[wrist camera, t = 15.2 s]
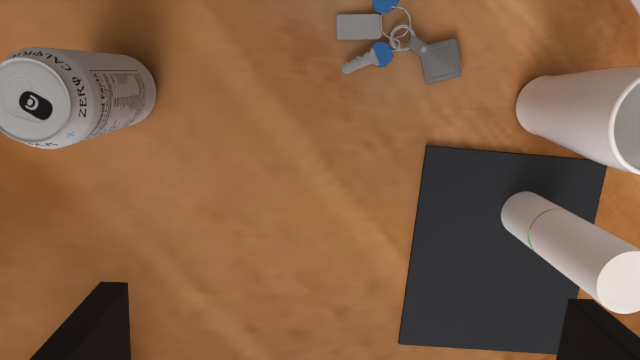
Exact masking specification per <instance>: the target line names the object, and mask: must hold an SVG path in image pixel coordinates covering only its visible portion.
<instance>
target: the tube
mask: <svg viewBox="0 0 640 360" xmlns="http://www.w3.org/2000/svg"><path fill="white" fill-rule="evenodd" d="M501 220H502V223H503V225H504V227H505V228H506V229H507V230H508V231H509V232H510V233H512V234H513V235H514V236H515V237H517V238H518V239H519V240H520V241H522V242H523V243H524V244H526V245H527V246H528V247H529V248H531V249H532V250H533V251H534V252H536V253H537V254H538V255H540V256H541V257H542V258H543V259H545V260H546V261H547V262H548V263H550V264H551V265H552V266H554V267H555V268H556V269H557V270H559V271H560V272H561V273H562V274H564V275H565V276H566V277H568V278H569V279H570V280H571V281H573V282H574V283H575V284H577V285H578V286H579V287H580V288H582V289H583V290H584V291H585V292H587V293H588V294H589V295H591V296H592V297H593V298H594V299H596V300H597V301H598V302H599V303H601V304H602V305H603V306H605V307H606V308H607V309H609V310H611V311H613V312H616V313H621V314H628V313H633V312H637V311H639V310H640V249H638V248H637V247H635V246H633V245H631V244H629V243H627V242H625V241H623V240H622V239H620V238H618V237H616V236H614V235H612V234H610V233H608V232H606V231H605V230H603V229H601V228H599V227H597V226H595V225H593V224H591V223H590V222H588V221H586V220H584V219H582V218H580V217H578V216H576V215H575V214H573V213H571V212H569V211H567V210H565V209H563V208H561V207H559V206H558V205H556V204H554V203H552V202H550V201H548V200H546V199H544V198H543V197H541V196H539V195H537V194H535V193H532V192H520V193H517V194H514V195H513V196H511V197H510V198H509V199H508V200H507V201H506V202H505V204H504V205H503V208H502V211H501Z"/></svg>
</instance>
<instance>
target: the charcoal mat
mask: <svg viewBox="0 0 640 360" xmlns="http://www.w3.org/2000/svg"><path fill="white" fill-rule="evenodd" d="M606 169H607V166H605V165H602V164H600V163H597V162H595V161H592V160H589V159H577V158H566V157H554V156H543V155H531V154H520V153H508V152H497V151H485V150H474V149H462V148H451V147H439V146H428V145H426V150H425V157H424V164H423V171H422V178H421V185H420V192H419V199H418V206H417V213H416V220H415V227H414V234H413V241H412V248H411V255H410V262H409V269H408V276H407V284H406V291H405V298H404V305H403V312H402V319H401V326H400V333H399V340H398V343H399V344H403V345H418V346H434V347H450V348H465V349H481V350H496V351H512V352H528V353H543V354H557V353H558V348H559V343H560V338H561V333H562V328H563V323H564V318H565V313H566V308H567V303H568V299H577V296H578V292H579V286H578V285H577V284H575V283H574V282H573V281H571V280H570V279H569V278H568V277H566V276H565V275H564V274H562V273H561V272H560V271H559V270H557V269H556V268H555V267H554V266H552V265H551V264H550V263H548V262H547V261H546V260H545V259H543V258H542V257H541V256H540V255H538V254H537V253H536V252H534V251H533V250H532V249H531V248H529V247H528V246H527V245H526V244H524V243H523V242H522V241H520V240H519V239H518V238H517V237H515V236H514V235H513V234H512V233H510V232H509V231H508V230H507V229H506V228H505V227H504V225H503V223H502V220H501V211H502V208H503V205H504V204H505V202H506V201H507V200H508V199H509V198H510V197H511V196H513V195H514V194H517V193H520V192H532V193H535V194H537V195H539V196H541V197H543V198H544V199H546V200H548V201H550V202H552V203H554V204H556V205H558V206H559V207H561V208H563V209H565V210H567V211H569V212H571V213H573V214H575V215H576V216H578V217H580V218H582V219H584V220H586V221H588V222H590V223H591V224H593V225H594V221H595V217H596V213H597V208H598V204H599V199H600V195H601V191H602V186H603V182H604V177H605V173H606Z"/></svg>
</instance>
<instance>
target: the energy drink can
mask: <svg viewBox="0 0 640 360" xmlns="http://www.w3.org/2000/svg"><path fill="white" fill-rule="evenodd" d="M155 100H156V87H155V82H154V80H153V78H152V75H151V74H150V72H149V71H148V69H147V68H146V67H145V66H144V65H143V64H142V63H140V62H139V61H138V60H136V59H134V58H132V57H130V56H126V55H121V54H110V53H98V52H87V51H75V50H64V49H53V48H40V47H32V48H25V49H22V50H19V51H16V52H14V53H13V54H11V55H10V56H8V57H7V58H6V59H5V60H4V61H3V62H1V63H0V131H1V132H2V133H4V134H5V135H7V136H8V137H10V138H12V139H14V140H17V141H20V142H23V143H26V144H28V145H30V146H33V147H37V148H41V149H56V148H62V147H65V146H68V145H71V144H74V143H78V142H81V141H84V140H87V139H90V138H93V137H96V136H100V135H103V134H106V133H109V132H112V131H115V130H118V129H122V128H125V127H128V126H131V125H134V124H137V123H139V122H141V121H142V120H144V119H145V118H146V117H147V116H148V115H149V114H150V112H151V111H152V109H153V107H154V104H155Z"/></svg>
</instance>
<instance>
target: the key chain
mask: <svg viewBox="0 0 640 360" xmlns="http://www.w3.org/2000/svg"><path fill="white" fill-rule="evenodd" d="M398 2H399V0H373V8H374V10H375V11H376V12H378V13H381V16H380V15H379V14H352V15H336V17H337V40H361V39H379V38H380V37H381V34H382V33H383V35H384V36H386V37H388V38H389V40H390V42H389V45H388V44H386V43H384V42H379V43H375V44H374V45H373V46H371V50H370V52H369V54H368V52H366V53H365V54H364V55H363V56H364V57H362V58H361V56H359V57H358V56H357V57H356V60H355V61H354V59H353V60H351V62H350V63H348V64H347V63H344V65H343V66H342V71H343V72H344V74H345V75H346V74H348V73H350V72H353V71H355V70H357V69H360V68H362V67H364V66H367V65H369V64H371V63H373V64H375V65H377V66H379V67H383V66H386V65H387V64H388V63H390V62H391V59H392V57H393V53H392V51H399V52H405V51H407V50H409V49H410V50H411V51H413V52H415V53H416V54H418V55H419V56H420V57H421V61H422V66H423V72H424V77H425V81H426V83H428V84H431V83H435V82H439V81H443V80H447V79H451V78H455V77H459V76H460V75H462V69H461V63H460V58H459V52H458V46H457V41H456V39H449V40H445V41H441V42H437V43H433V44H429V45H427V44H426V43H424V42H422V41H421V40H420V39H418V38H417V37H416V36H415V32H414V30H413V29H412V28H411V27H410V25H411V18H410V15H409V13H408V12H407V10H406V9H404V8H402V7H400V6H397V4H398ZM393 5H394V6H393ZM391 8H392V9H391ZM394 8H400V9H402V10H404V11H405V12H406V13H407V15H408V16H409V26H408V25H406V24H400V25H398V26H396V27H394V28H393V30H392V31H391V32H390V36H388V35H386V34H385V33H384V32H383V30H382V16H383V14H384V13H388V12H390V11H392V10H393V9H394ZM389 9H391V10H389ZM379 27H380V30H379ZM400 28H405V29H407V31H406V32H405V33H404V34H403V35H401V36H399V37H393V36H394V33H395V32H396V31H397V30H398V29H400ZM408 31H410V33H411V38H410V40H409V41H408V43H407V45H406V46H405V48H400V45H401V43H400V41H399V40H398V39H399V38H401V37H403V36H404V35H405V34H406V33H407V32H408ZM394 40H396V41H398V43H399V46H396V45H395V43H394ZM390 44H391V46H392V47H393V48H394V49H392V48H391V47H390Z"/></svg>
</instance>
